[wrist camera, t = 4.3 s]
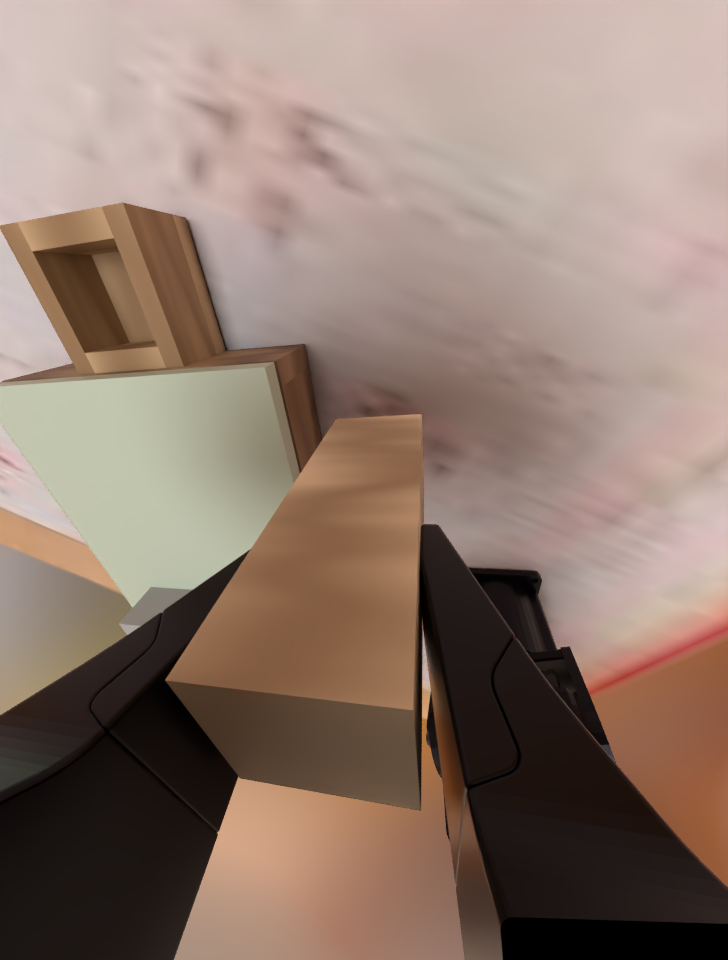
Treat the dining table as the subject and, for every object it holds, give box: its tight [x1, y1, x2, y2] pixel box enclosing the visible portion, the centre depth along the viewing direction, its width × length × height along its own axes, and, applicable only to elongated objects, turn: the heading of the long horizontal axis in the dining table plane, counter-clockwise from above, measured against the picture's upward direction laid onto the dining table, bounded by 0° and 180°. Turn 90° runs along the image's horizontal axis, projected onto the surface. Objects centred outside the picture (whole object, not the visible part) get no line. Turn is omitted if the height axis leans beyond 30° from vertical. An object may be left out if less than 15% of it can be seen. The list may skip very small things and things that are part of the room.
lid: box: [0, 362, 300, 635], centre depth 19 cm, size 16×19×4 cm
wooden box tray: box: [0, 203, 322, 473], centre depth 21 cm, size 16×25×4 cm, turn 6°
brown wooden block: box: [165, 414, 424, 810], centre depth 8 cm, size 3×3×9 cm
